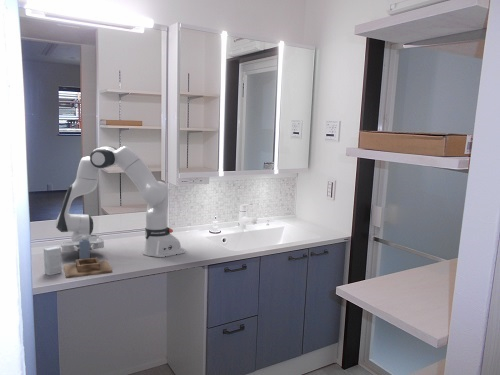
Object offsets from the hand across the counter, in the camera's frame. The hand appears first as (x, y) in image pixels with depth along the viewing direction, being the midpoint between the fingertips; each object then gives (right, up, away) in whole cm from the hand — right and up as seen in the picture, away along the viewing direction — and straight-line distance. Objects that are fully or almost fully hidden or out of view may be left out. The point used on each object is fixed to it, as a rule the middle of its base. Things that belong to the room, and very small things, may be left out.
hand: (84, 249), depth 208 cm
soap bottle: (-1, -6, +2) cm, 7 cm away
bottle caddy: (+6, -8, -11) cm, 15 cm away
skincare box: (-8, -9, -17) cm, 20 cm away
